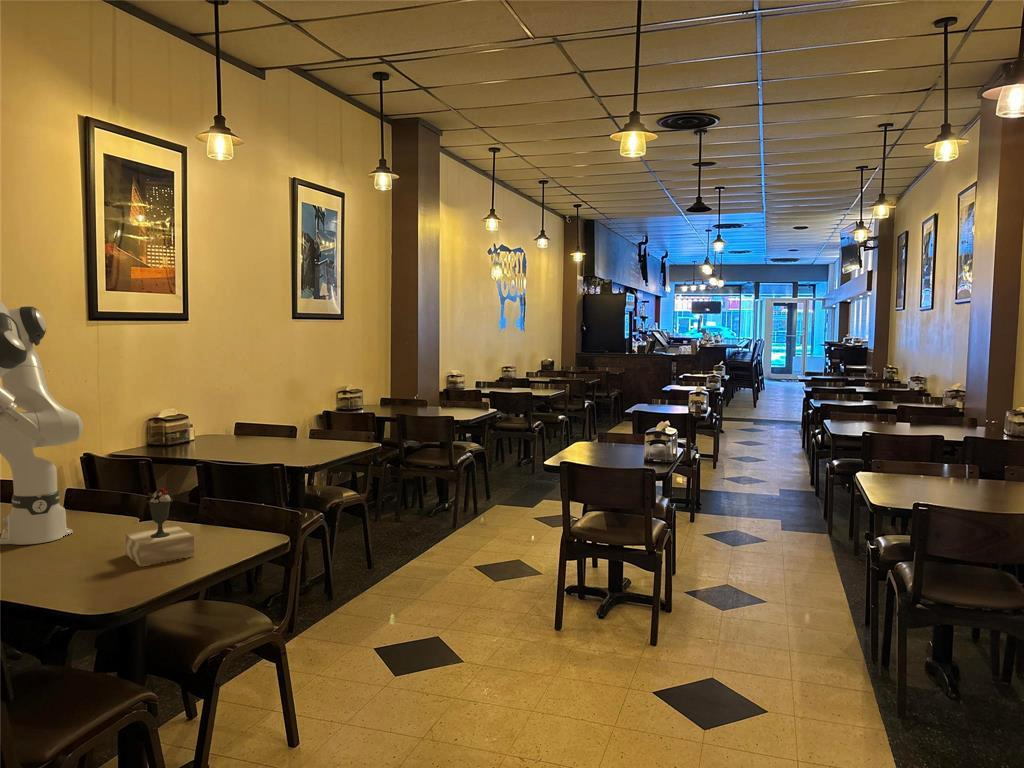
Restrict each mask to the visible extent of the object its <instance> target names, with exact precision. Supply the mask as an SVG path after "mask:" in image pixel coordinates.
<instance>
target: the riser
mask: <svg viewBox="0 0 1024 768" xmlns="http://www.w3.org/2000/svg"><path fill="white" fill-rule="evenodd" d="M162 528H163V531H164V532H165V533H169V534H170V535H169V536H167V537H162V538H152V537H151V535H152V534H155V533H156V532H157V530H158V528H156V529H149V530H143V531H137V532H136V531H135V532H130V533H125V554H126V555H125V556H127V557H128V556H129V557H130V558H129V557H128V558H129V559H130V560H132V561H133V562H134V563H135V562H136V563H135V564H136V565H138V566H139V567H140V568H141V566H142V567H145V566H146V567H147V566H151V564H153V565H157V563H158V564H162V563H161V562H163V563H168V562H167V561H169V562H172V561H171V560H174V561H177V560H176V559H179V560H183V559H182V558H185V559H189V557H190V558H194V557H195V535H193V534H191V533H190V532H188V531H186V530H184V529H183V528H181V526H178V525H175V526H168V527H162Z"/></svg>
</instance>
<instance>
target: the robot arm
mask: <svg viewBox="0 0 1024 768" xmlns="http://www.w3.org/2000/svg"><path fill="white" fill-rule="evenodd" d="M46 332H47V323H46V319H45V317H44V315H43V314H42V312H40V310H39V309H38V308H36V307H35V306H20V307H19V308H11V309H8V307H7V306H6V304H4V302H2V301H0V379H1V382H2V385H0V455H1V456H3V457H2V458H4V459H5V460H6V462H7V463H8V465H9V467H10V470H11V474H12V475H11V476H12V484H13V485H12V486H13V494H12V497H11V506H12V509H11V510H10V512H9V513H8V515H7V517H4V518H2V526H3V527H5V528H4V529H3V530H2V532H1V535H0V545H20V546H21V545H38V544H42V543H48V542H53V541H56V540H59V539H62V538H63V536H64V537H65V535H66V536H68V534H69V535H72V534H74V532H73V529H71V528H69V527H67V515H66V509H65V507H64V506H62V505H60V503H59V502H60V498H61V496H60V491H59V490H58V469H57V467H56V465H55V464H54V462H52V461H50V460H48V459H44V458H42V457H38V456H37V455H35V453H34V449H36V448H43V447H56V446H62V445H63V446H64V445H67V444H70V443H75V442H76V441H78V440H79V439H80V438H81V436H82V434H83V431H84V430H83V429H84V423H83V420H82V418H81V417H80V415H79V414H78V413H77V412H76V411H73V410H70V409H68V408H66V407H65V406H63V405H61V404H60V403H59V402H58V401H57V400H56V398H54V397H53V395H52V394H51V392H50V390H49V388H48V387H49V386H48V384H47V381H46V377H45V373H44V369H43V366H42V365H43V364H42V362H41V359H40V357H39V355H38V353H37V351H36V349H35V348H34V346H37V347H38V346H39V345H40V344H41V341H42V339H44V337H45V335H46ZM33 344H34V345H33ZM17 408H19V409H21V410H23V411H18V410H17ZM71 533H72V534H71Z"/></svg>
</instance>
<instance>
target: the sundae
mask: <svg viewBox="0 0 1024 768" xmlns="http://www.w3.org/2000/svg"><path fill="white" fill-rule="evenodd" d="M167 485H169V483H166V482H165V484H164V485H163V487H161V488H159V490H156V491H155V492H153V493H150V492H148V497H149V499H148V500H146V503H148V504H149V509H150V515H151V520H152V521H153V522H154V523H156V524H157V529H158V530H157V532H156V533H155V534H152V535H151V537H152V538H162V537H167V536H169V535H170V534H169V533H165V532H164V531H163V528H164V527H163V524H164V523H165V522H166V521H167V520H168V518H169V514H170V506H171V503H173V501H174V499H173V498H172V497H170V495H168V491H167V490H166V486H167Z"/></svg>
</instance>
